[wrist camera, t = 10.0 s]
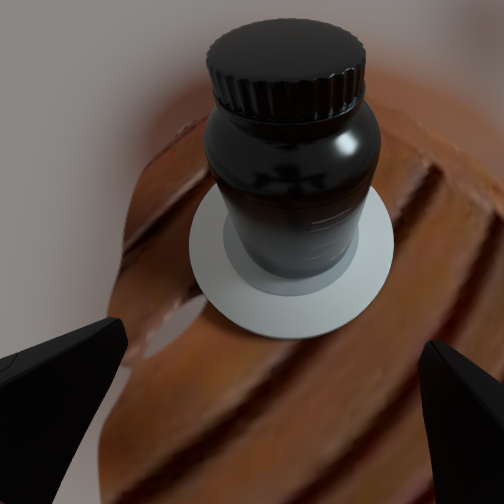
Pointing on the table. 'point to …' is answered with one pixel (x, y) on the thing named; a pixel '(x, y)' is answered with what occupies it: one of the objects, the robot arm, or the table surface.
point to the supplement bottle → (291, 141)
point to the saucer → (282, 289)
